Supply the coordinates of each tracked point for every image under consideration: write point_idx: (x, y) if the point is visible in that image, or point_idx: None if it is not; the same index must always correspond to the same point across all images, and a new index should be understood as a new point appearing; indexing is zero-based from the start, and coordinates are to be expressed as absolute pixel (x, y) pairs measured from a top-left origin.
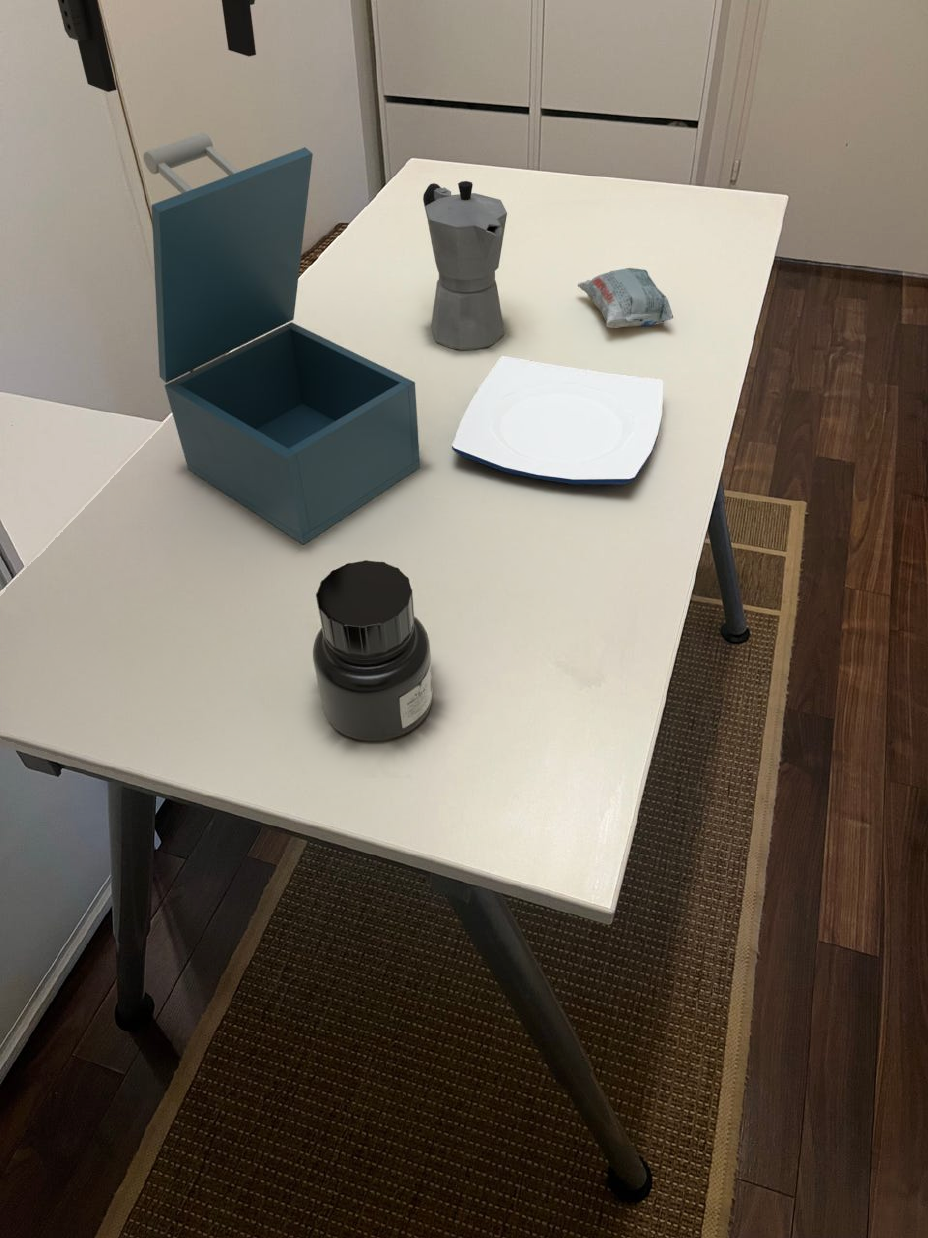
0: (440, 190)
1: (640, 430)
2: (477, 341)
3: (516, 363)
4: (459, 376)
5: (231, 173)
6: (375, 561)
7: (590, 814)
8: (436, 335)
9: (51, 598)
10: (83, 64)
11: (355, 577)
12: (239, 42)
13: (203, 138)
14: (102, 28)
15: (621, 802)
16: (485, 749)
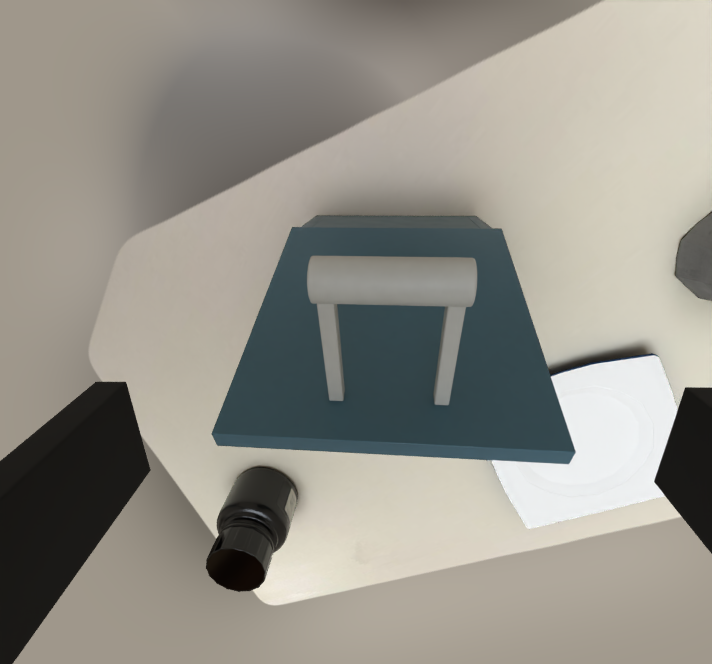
0: None
1: (603, 497)
2: (695, 291)
3: (653, 370)
4: (621, 309)
5: (438, 365)
6: (258, 561)
7: (294, 589)
8: (686, 242)
9: (145, 272)
10: (59, 414)
11: (240, 560)
12: (688, 471)
13: (455, 303)
14: (34, 628)
15: (309, 595)
16: (285, 544)
